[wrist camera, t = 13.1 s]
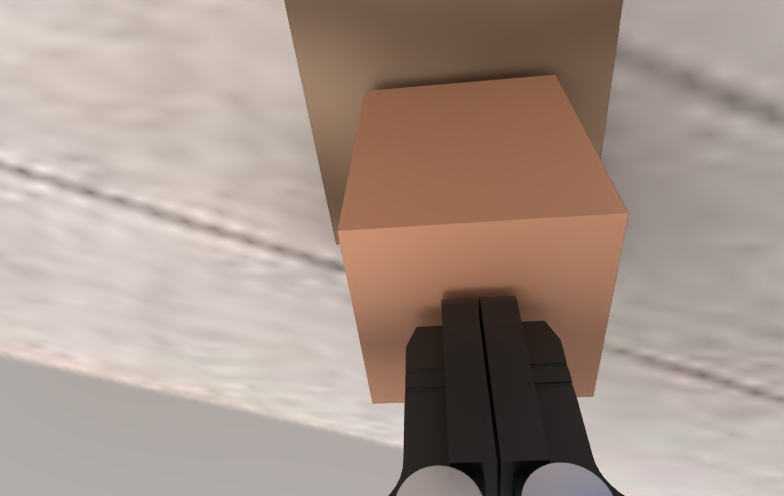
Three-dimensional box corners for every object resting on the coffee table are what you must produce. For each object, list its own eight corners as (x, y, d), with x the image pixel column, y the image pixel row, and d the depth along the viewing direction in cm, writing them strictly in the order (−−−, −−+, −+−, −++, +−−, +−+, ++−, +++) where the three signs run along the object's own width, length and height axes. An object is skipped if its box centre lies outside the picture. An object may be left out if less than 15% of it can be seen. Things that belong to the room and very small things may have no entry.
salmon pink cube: (365, 91, 15) (337, 230, 10) (555, 74, 15) (628, 213, 10) (385, 239, 19) (372, 403, 13) (543, 229, 18) (593, 396, 13)
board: (208, -416, 11) (-71, -723, 5) (675, -501, 10) (1091, -1014, 4) (339, 228, 21) (305, 406, 15) (583, 212, 20) (660, 394, 14)
